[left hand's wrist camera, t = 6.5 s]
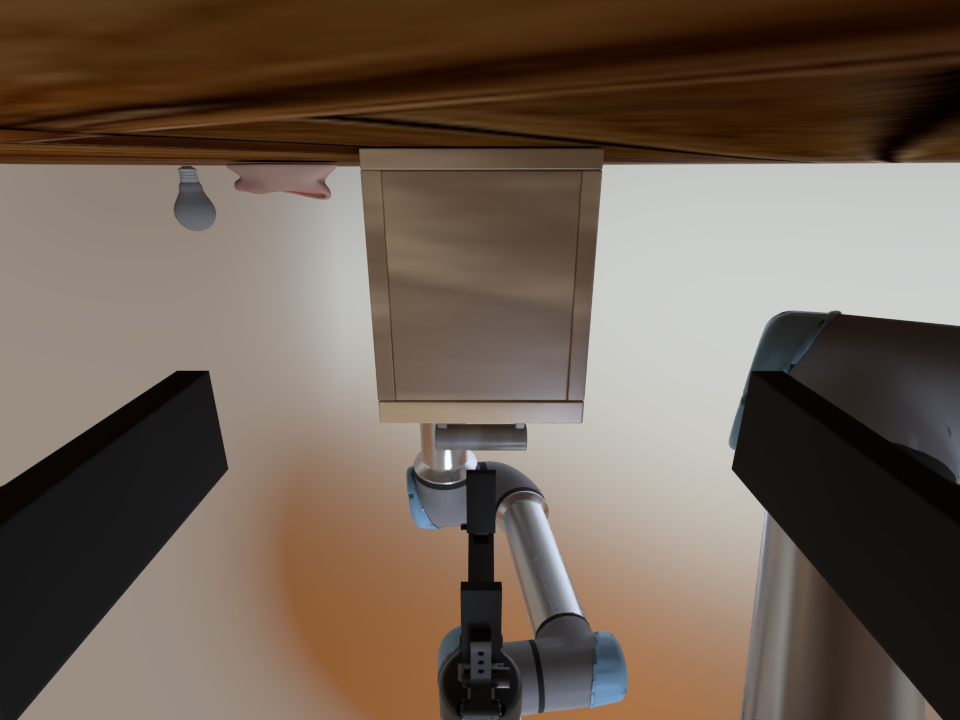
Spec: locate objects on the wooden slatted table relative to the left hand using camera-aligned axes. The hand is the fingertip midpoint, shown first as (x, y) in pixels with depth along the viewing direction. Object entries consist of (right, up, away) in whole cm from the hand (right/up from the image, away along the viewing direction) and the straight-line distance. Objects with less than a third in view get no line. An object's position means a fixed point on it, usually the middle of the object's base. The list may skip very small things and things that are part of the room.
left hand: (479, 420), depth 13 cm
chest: (0, +12, +14) cm, 18 cm away
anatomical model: (-21, +23, +42) cm, 52 cm away
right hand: (0, -11, +27) cm, 29 cm away
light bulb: (-46, +32, +68) cm, 88 cm away
